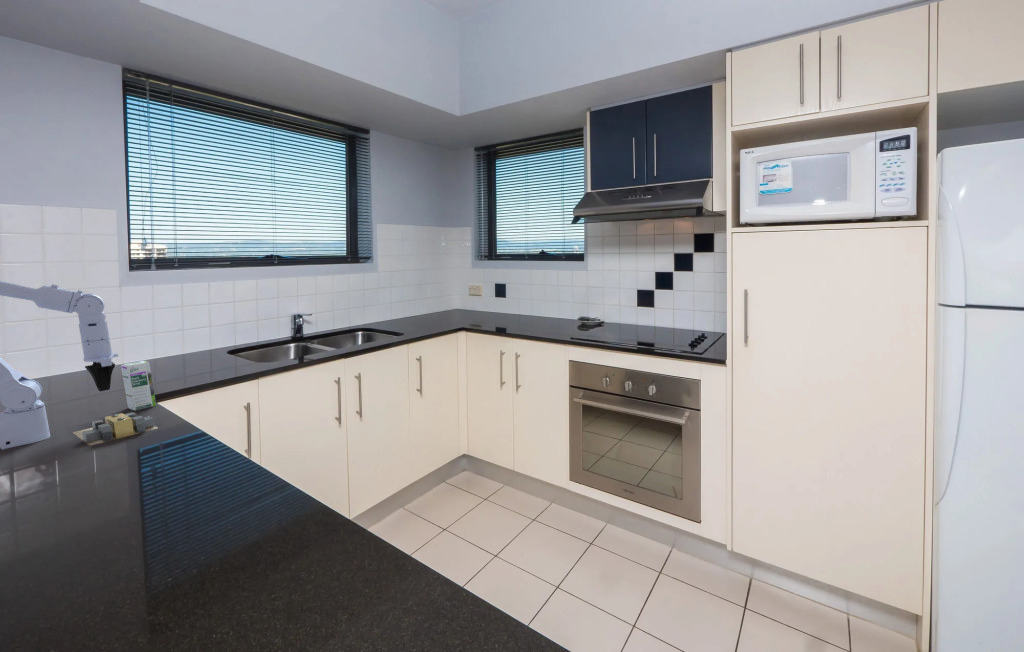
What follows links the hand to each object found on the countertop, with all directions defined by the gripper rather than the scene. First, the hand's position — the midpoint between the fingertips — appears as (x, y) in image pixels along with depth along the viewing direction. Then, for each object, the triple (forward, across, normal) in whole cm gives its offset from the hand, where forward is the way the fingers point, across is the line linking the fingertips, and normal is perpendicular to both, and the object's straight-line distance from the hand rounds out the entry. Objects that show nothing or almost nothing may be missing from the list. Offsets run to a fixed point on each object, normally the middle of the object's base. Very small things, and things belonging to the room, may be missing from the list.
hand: (104, 390), depth 132 cm
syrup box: (+11, +14, -11) cm, 21 cm away
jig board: (+10, -7, 0) cm, 13 cm away
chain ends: (+10, -12, 0) cm, 15 cm away
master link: (+10, -12, +1) cm, 15 cm away
